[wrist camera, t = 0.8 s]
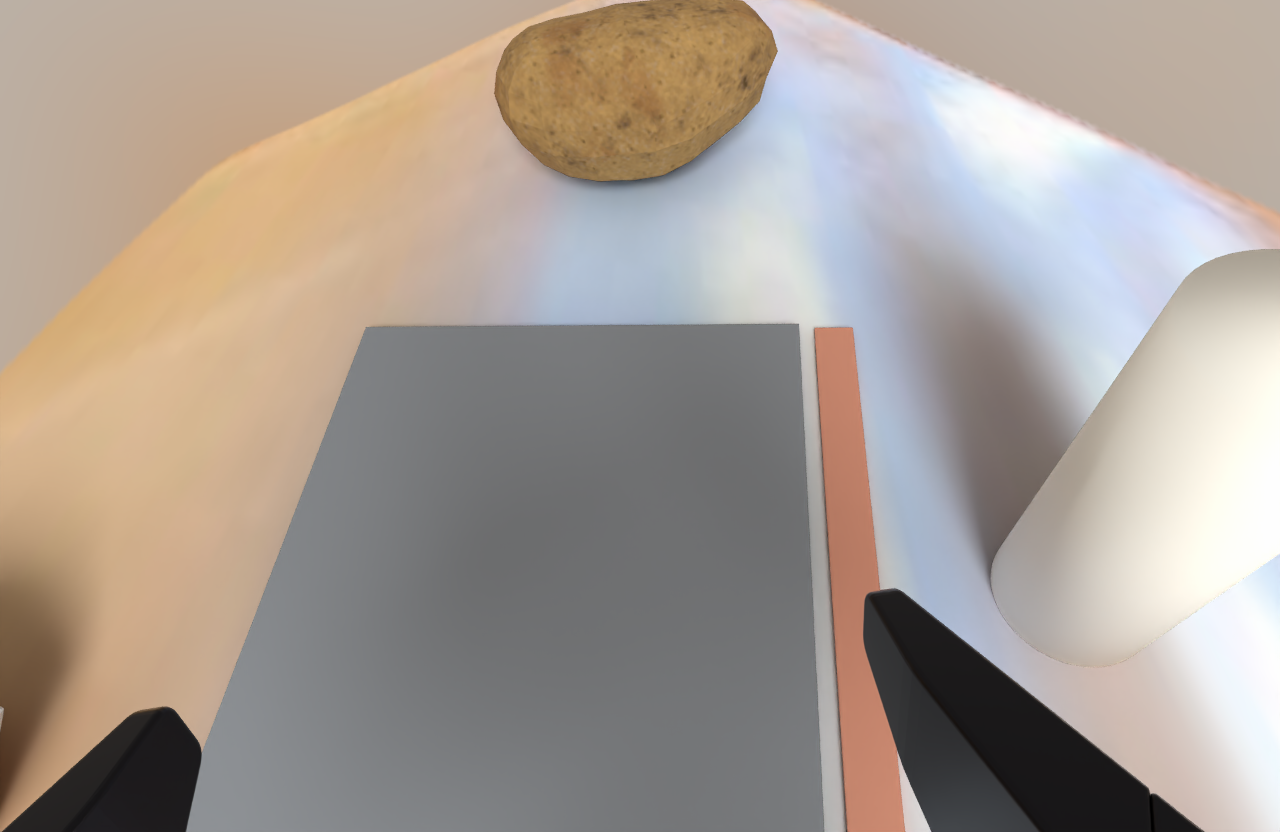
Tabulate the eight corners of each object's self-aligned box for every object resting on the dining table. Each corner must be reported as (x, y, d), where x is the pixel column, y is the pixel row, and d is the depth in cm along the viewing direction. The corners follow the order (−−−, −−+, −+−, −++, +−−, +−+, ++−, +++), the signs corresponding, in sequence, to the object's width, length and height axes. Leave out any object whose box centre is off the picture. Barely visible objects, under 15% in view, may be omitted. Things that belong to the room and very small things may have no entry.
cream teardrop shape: (1187, 605, 24) (1537, 351, 14) (1086, 700, 23) (1387, 500, 12) (1055, 499, 27) (1264, 217, 16) (958, 579, 26) (1117, 327, 15)
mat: (798, 330, 33) (798, 323, 32) (827, 939, 20) (829, 939, 20) (369, 332, 35) (366, 327, 35) (164, 873, 23) (155, 872, 23)
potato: (799, 184, 38) (813, 30, 32) (532, 246, 38) (490, 102, 31) (743, 84, 44) (745, -65, 37) (510, 136, 43) (471, -5, 37)
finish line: (814, 330, 33) (814, 327, 32) (851, 330, 32) (852, 327, 32) (854, 944, 20) (855, 944, 20) (915, 950, 20) (917, 951, 20)
